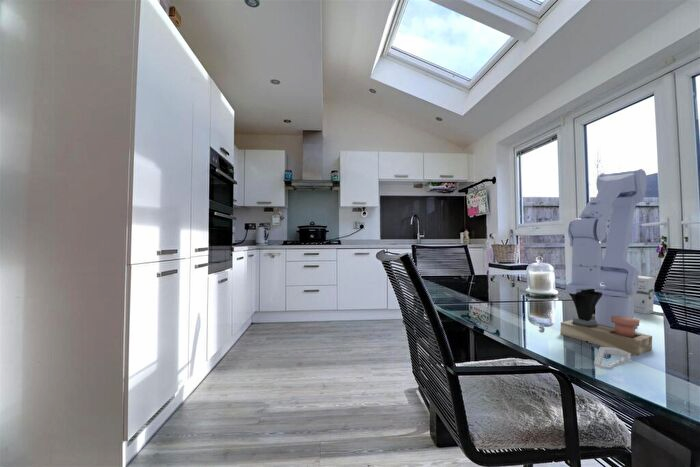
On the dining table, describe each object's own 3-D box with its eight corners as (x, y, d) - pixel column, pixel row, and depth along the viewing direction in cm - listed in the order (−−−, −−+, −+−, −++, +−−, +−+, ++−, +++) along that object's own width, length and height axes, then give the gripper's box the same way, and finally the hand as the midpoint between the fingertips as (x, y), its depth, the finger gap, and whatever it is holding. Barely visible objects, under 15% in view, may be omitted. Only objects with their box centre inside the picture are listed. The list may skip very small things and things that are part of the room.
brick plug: (616, 330, 74) (616, 314, 74) (642, 336, 69) (643, 320, 69) (606, 333, 71) (607, 317, 71) (633, 339, 67) (633, 322, 67)
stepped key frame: (627, 380, 57) (627, 371, 57) (593, 371, 60) (593, 362, 60) (631, 356, 66) (631, 348, 66) (601, 350, 69) (601, 342, 69)
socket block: (576, 329, 82) (577, 318, 82) (651, 349, 69) (652, 336, 69) (560, 334, 79) (560, 322, 79) (636, 355, 65) (636, 341, 65)
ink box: (614, 308, 107) (615, 274, 107) (622, 306, 110) (622, 273, 109) (647, 314, 100) (648, 278, 100) (654, 312, 102) (655, 277, 102)
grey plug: (578, 330, 81) (578, 316, 81) (600, 335, 77) (600, 320, 76) (568, 332, 78) (568, 318, 78) (590, 338, 74) (590, 323, 74)
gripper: (589, 269, 70) (588, 328, 70) (619, 266, 77) (617, 320, 77) (556, 265, 77) (555, 320, 77) (586, 263, 83) (585, 313, 84)
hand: (584, 319), depth 77 cm, fingers closed, pressing on grey plug
